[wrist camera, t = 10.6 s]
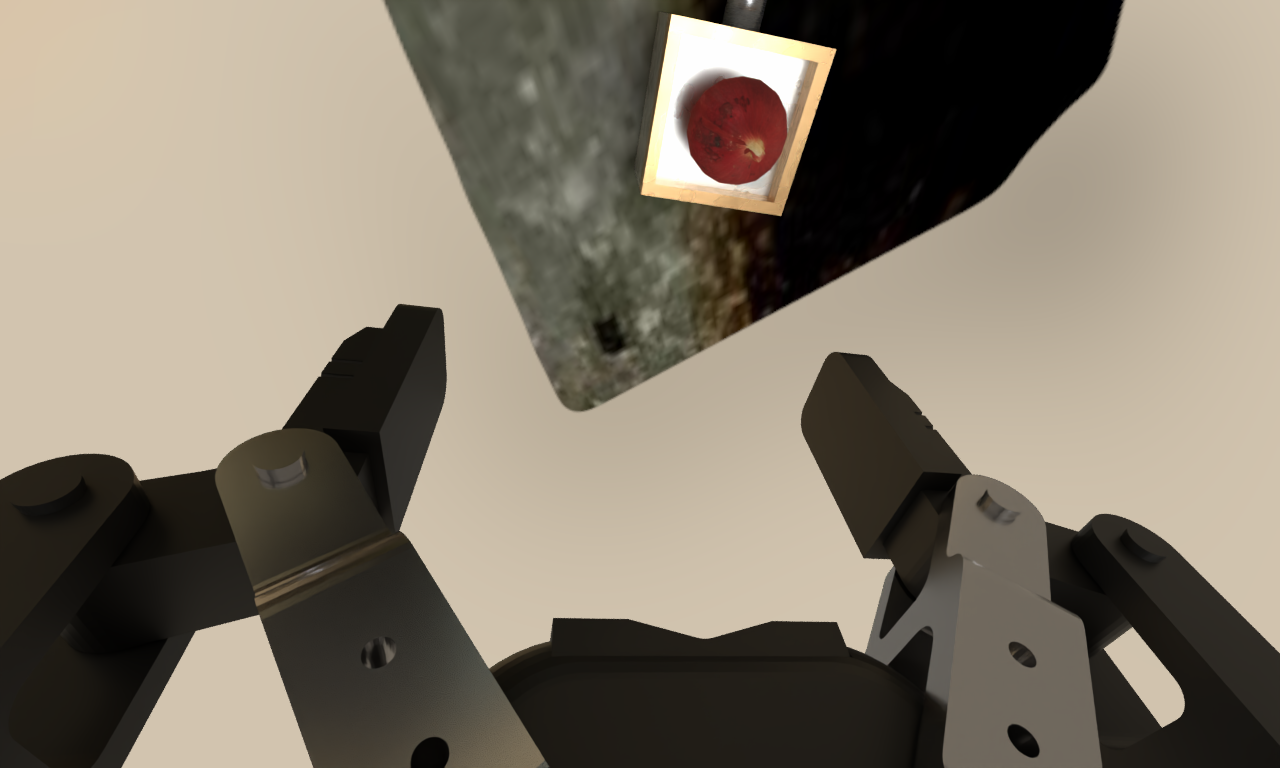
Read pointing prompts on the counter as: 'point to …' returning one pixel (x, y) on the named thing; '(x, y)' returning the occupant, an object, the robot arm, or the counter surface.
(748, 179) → the onion
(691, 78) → the wooden tray
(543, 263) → the counter surface
